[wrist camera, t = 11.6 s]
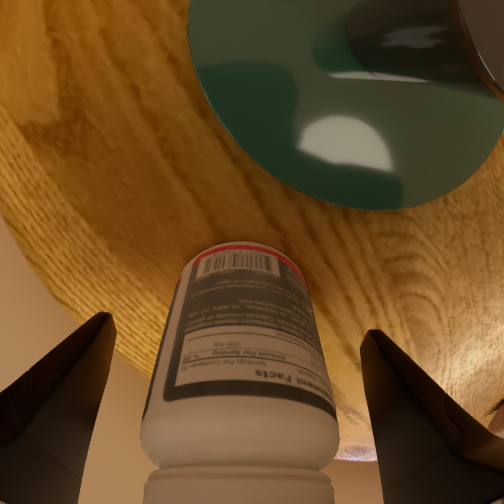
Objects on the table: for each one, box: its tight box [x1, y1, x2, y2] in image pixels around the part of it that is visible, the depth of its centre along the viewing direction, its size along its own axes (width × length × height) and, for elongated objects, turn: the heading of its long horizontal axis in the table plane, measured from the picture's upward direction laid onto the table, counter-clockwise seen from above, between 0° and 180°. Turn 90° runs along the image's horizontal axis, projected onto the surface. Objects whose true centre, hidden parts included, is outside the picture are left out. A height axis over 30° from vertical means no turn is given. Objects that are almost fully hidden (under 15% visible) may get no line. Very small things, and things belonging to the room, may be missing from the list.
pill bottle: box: [140, 241, 340, 504], centre depth 8 cm, size 5×5×8 cm
